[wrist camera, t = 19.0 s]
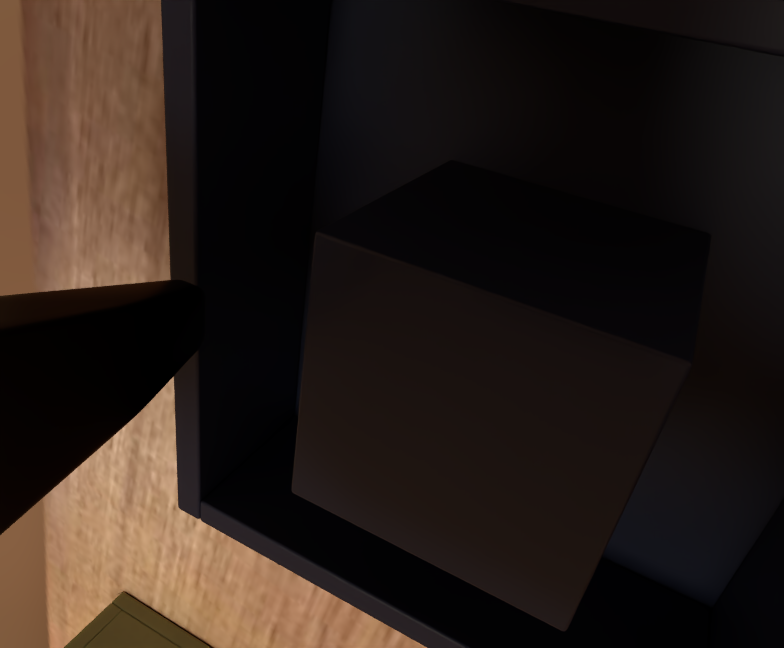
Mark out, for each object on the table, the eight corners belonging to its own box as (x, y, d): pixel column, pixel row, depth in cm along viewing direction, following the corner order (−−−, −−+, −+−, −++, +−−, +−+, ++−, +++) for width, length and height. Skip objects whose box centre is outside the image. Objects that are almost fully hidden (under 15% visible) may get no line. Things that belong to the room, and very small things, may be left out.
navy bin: (287, 410, 17) (177, 508, 14) (327, -85, 11) (155, -121, 8) (731, 617, 13) (727, 817, 10) (1121, 45, 8) (1401, 77, 4)
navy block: (410, 364, 14) (289, 492, 10) (450, 158, 11) (312, 230, 8) (618, 448, 12) (565, 634, 9) (713, 233, 10) (694, 364, 6)
